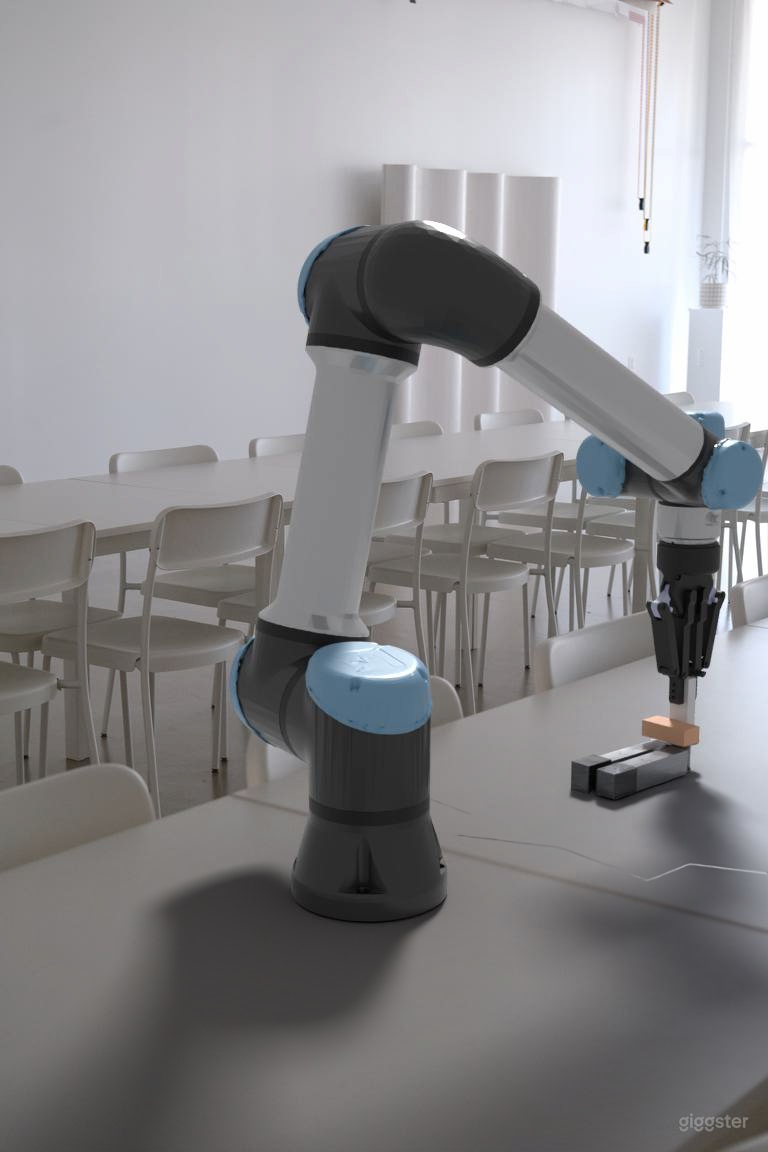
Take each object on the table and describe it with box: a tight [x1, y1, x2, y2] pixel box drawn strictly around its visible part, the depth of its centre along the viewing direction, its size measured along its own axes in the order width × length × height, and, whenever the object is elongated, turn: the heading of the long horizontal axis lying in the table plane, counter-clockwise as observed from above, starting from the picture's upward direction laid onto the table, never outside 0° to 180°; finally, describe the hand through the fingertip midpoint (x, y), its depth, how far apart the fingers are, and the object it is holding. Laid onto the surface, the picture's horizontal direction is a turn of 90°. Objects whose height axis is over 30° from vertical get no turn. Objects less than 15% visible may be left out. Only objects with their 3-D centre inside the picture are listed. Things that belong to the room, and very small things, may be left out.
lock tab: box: [641, 715, 701, 747], centre depth 170 cm, size 3×6×2 cm, turn 41°
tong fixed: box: [570, 738, 692, 794], centre depth 168 cm, size 18×5×3 cm, turn 131°
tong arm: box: [595, 741, 700, 801], centre depth 167 cm, size 18×5×3 cm, turn 132°
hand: (681, 727), depth 171 cm, fingers closed
